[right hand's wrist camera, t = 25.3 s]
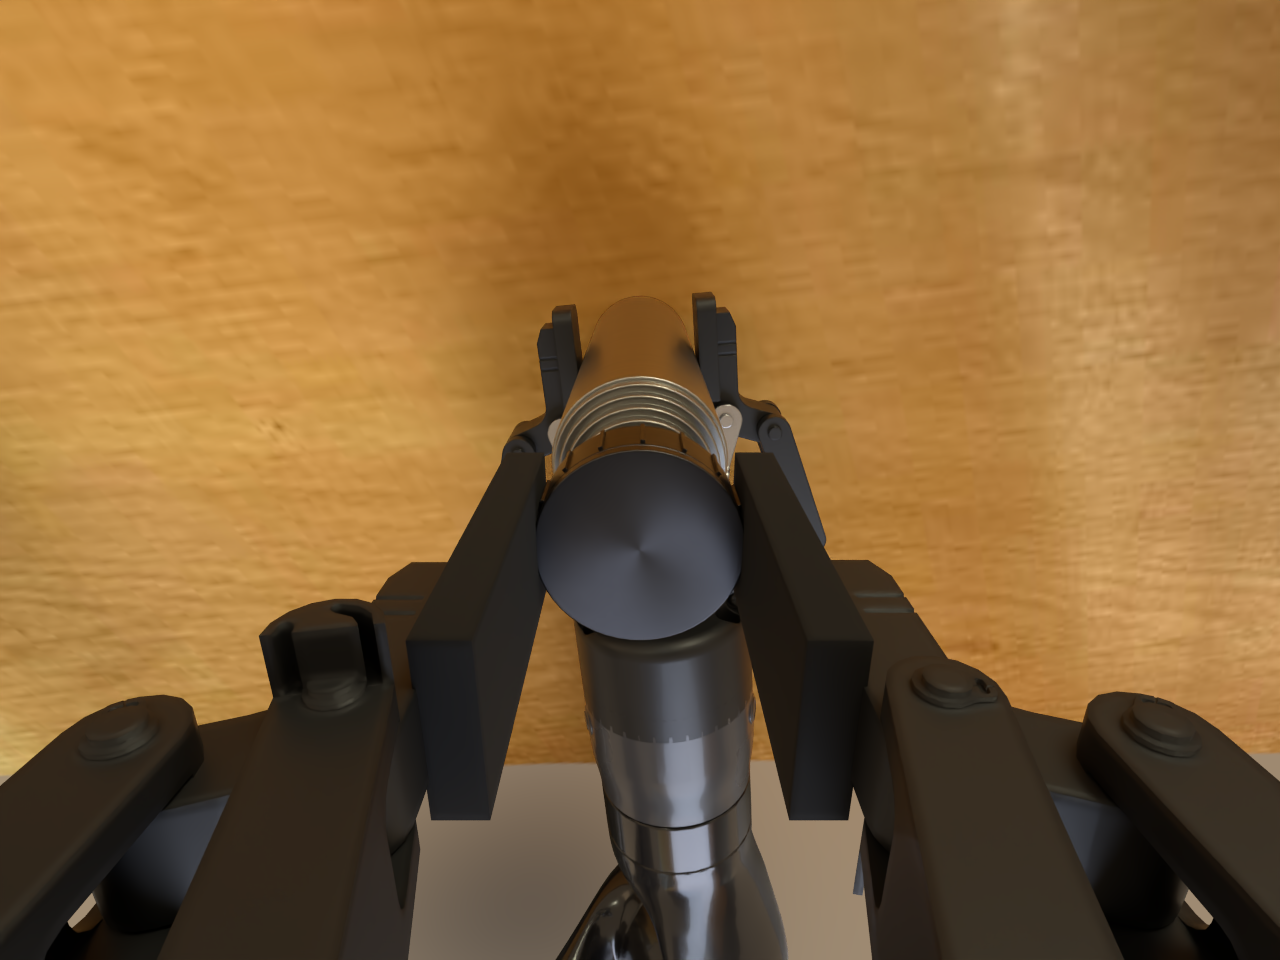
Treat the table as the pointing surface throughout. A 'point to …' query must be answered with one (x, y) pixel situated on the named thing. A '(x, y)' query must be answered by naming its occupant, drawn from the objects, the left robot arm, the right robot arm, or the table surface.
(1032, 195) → the table surface
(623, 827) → the left robot arm
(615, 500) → the cap
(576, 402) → the bottle
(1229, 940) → the right robot arm
